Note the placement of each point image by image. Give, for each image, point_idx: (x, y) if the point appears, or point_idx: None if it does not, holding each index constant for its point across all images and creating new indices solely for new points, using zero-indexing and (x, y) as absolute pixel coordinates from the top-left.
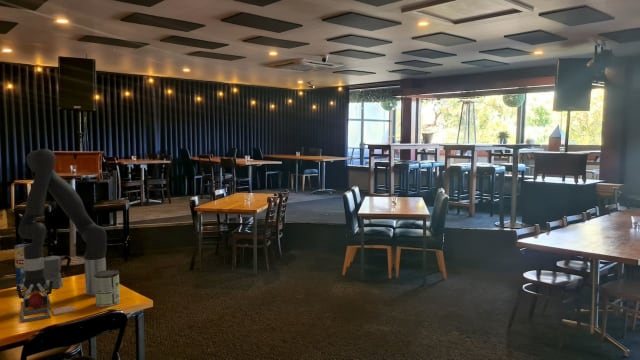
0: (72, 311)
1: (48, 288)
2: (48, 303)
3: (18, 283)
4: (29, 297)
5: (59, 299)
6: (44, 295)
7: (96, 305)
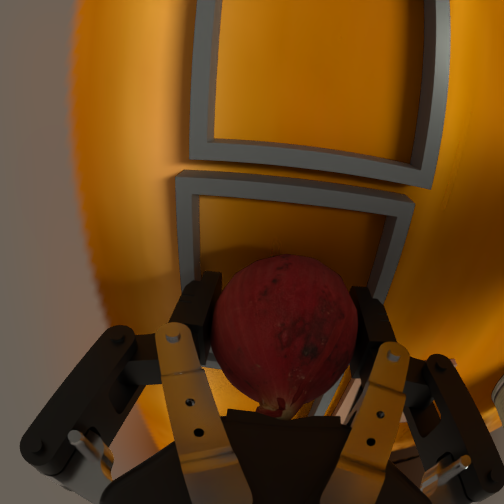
0: (403, 420)
1: (443, 399)
2: (389, 278)
3: None
4: (218, 358)
5: (496, 132)
6: (361, 390)
7: (497, 384)
